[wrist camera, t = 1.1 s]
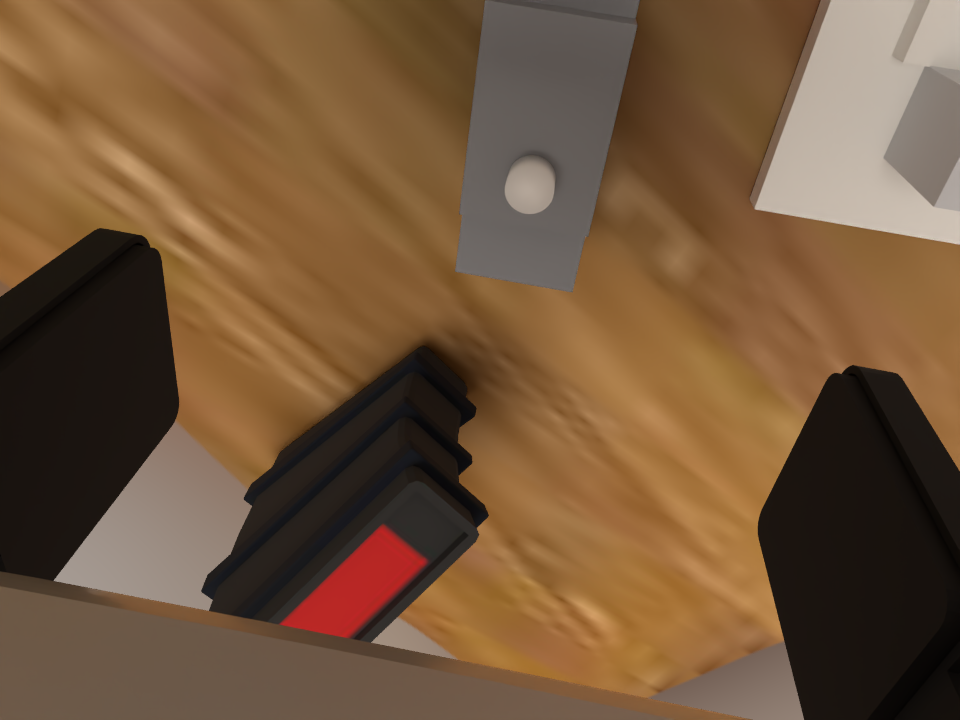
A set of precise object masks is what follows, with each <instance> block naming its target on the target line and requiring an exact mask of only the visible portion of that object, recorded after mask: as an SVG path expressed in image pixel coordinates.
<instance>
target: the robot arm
mask: <svg viewBox="0 0 960 720" xmlns="http://www.w3.org/2000/svg"><path fill="white" fill-rule="evenodd" d="M178 409H179V396H178V388H177V380H176V372H175V364H174V356H173V348H172V340H171V332H170V324H169V316H168V308H167V300H166V292H165V284H164V276H163V268H162V260H161V256H160V254H159V252H158V250H156V249H155V248H150V244H149V243H148V241H147V239H146V238H145V237H143V236H142V235H136V234H131V233H125V232H120V231H114V230H109V229H102V228H99V229H97V230H94V231H93V232H92V233H90V234H89V235H87V236H86V237H84V238H83V239H82V240H80V241H79V242H77V243H76V244H75V245H73V246H72V247H70V248H69V249H67V250H66V251H65V252H63V253H62V254H60V255H59V256H58V257H56V258H55V259H53V260H52V261H51V262H49V263H48V264H46V265H45V266H43V267H42V268H41V269H39V270H38V271H36V272H35V273H34V274H32V275H31V276H29V277H28V278H26V279H25V280H24V281H22V282H21V283H19V284H18V285H17V286H15V287H14V288H12V289H11V290H10V291H8V292H7V293H5V294H4V295H3V296H1V297H0V720H751V719H746V718H741V717H736V716H731V715H726V714H721V713H716V712H712V711H707V710H702V709H697V708H692V707H687V706H682V705H677V704H672V703H668V702H662V701H658V700H653V699H648V698H643V697H638V696H633V695H628V694H624V693H619V692H614V691H609V690H604V689H599V688H594V687H589V686H584V685H579V684H575V683H570V682H565V681H560V680H555V679H550V678H545V677H540V676H535V675H530V674H525V673H520V672H515V671H510V670H505V669H500V668H495V667H490V666H485V665H480V664H475V663H470V662H465V661H460V660H455V659H450V658H445V657H440V656H435V655H430V654H425V653H419V652H415V651H409V650H405V649H400V648H394V647H390V646H385V645H380V644H374V643H369V642H364V641H359V640H354V639H349V638H344V637H339V636H334V635H329V634H324V633H319V632H314V631H309V630H304V629H299V628H294V627H288V626H283V625H278V624H273V623H268V622H263V621H258V620H253V619H248V618H242V617H237V616H232V615H227V614H222V613H217V612H211V611H206V610H201V609H195V608H191V607H185V606H180V605H175V604H170V603H165V602H159V601H154V600H149V599H143V598H139V597H134V596H128V595H123V594H118V593H113V592H107V591H102V590H97V589H92V588H87V587H81V586H76V585H71V584H66V583H61V582H55V581H53V580H54V579H55V578H56V576H57V575H58V574H59V573H60V571H61V570H62V569H63V567H64V566H65V565H66V564H67V562H68V561H69V560H70V558H71V557H72V556H73V554H74V553H75V552H76V550H77V549H78V548H79V547H80V545H81V544H82V543H83V541H84V540H85V539H86V537H87V536H88V535H89V534H90V532H91V531H92V530H93V528H94V527H95V526H96V524H97V523H98V522H99V521H100V519H101V518H102V516H103V515H104V514H105V513H106V511H107V510H108V509H109V507H110V506H111V505H112V504H113V502H114V501H115V500H116V498H117V497H118V496H119V494H120V493H121V492H122V491H123V489H124V488H125V487H126V485H127V484H128V483H129V481H130V480H131V479H132V478H133V476H134V475H135V473H136V472H137V471H138V470H139V468H140V467H141V466H142V464H143V463H144V462H145V461H146V459H147V458H148V457H149V455H150V454H151V453H152V451H153V450H154V449H155V447H156V446H157V445H158V444H159V442H160V441H161V440H162V438H163V437H164V436H165V434H166V433H167V432H168V431H169V429H170V428H171V427H172V425H173V423H174V422H175V419H176V417H177V413H178ZM758 537H759V542H760V546H761V550H762V554H763V558H764V562H765V565H766V569H767V573H768V577H769V581H770V585H771V589H772V593H773V597H774V601H775V605H776V609H777V613H778V617H779V621H780V625H781V629H782V633H783V637H784V641H785V645H786V649H787V653H788V657H789V661H790V665H791V668H792V672H793V676H794V681H795V685H796V688H797V692H798V696H799V700H800V704H801V708H802V712H803V716H804V720H960V471H959V470H958V468H957V466H956V465H955V463H954V462H953V460H952V458H951V457H950V455H949V453H948V452H947V450H946V449H945V447H944V445H943V444H942V442H941V441H940V439H939V437H938V436H937V434H936V432H935V431H934V429H933V428H932V426H931V424H930V423H929V421H928V420H927V418H926V416H925V415H924V413H923V411H922V410H921V408H920V407H919V405H918V403H917V402H916V400H915V399H914V397H913V395H912V394H911V392H910V390H909V389H908V387H907V386H906V384H905V382H904V381H903V379H902V378H901V377H900V376H899V375H898V374H896V373H893V372H887V371H882V370H876V369H871V368H865V367H860V366H854V365H852V366H850V367H848V368H847V369H845V370H844V371H843V373H842V374H839V373H834V374H832V375H831V376H830V377H829V378H828V379H827V381H826V383H825V384H824V386H823V388H822V390H821V392H820V394H819V396H818V398H817V400H816V402H815V404H814V406H813V408H812V410H811V412H810V414H809V416H808V418H807V420H806V422H805V424H804V426H803V428H802V430H801V432H800V434H799V436H798V438H797V440H796V442H795V444H794V446H793V448H792V450H791V452H790V454H789V456H788V458H787V460H786V462H785V464H784V466H783V468H782V470H781V472H780V474H779V476H778V478H777V480H776V482H775V484H774V486H773V488H772V490H771V492H770V494H769V496H768V498H767V500H766V502H765V504H764V506H763V508H762V511H761V513H760V517H759V521H758Z"/></svg>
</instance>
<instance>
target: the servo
mask: <svg viewBox="0 0 960 720" xmlns="http://www.w3.org/2000/svg"><path fill="white" fill-rule="evenodd" d="M639 2H640V0H485V5H484V14H483V22H482V30H481V38H480V46H479V55H478V63H477V71H476V79H475V88H474V96H473V104H472V112H471V121H470V129H469V137H468V145H467V154H466V162H465V170H464V178H463V186H462V195H461V203H460V211H459V214H461V215H462V221H461V229H460V237H459V245H458V253H457V261H456V270H455V272H460V273H466V274H471V275H477V276H483V277H488V278H494V279H500V280H505V281H511V282H517V283H522V284H528V285H534V286H539V287H545V288H550V289H556V290H562V291H567V292H573V287H574V283H575V279H576V274H577V270H578V266H579V261H580V257H581V253H582V248H583V244H584V240H585V236H586V237H588V235H589V231H590V226H591V222H592V218H593V213H594V209H595V205H596V201H597V196H598V192H599V188H600V184H601V179H602V175H603V171H604V166H605V162H606V158H607V154H608V149H609V145H610V141H611V136H612V132H613V128H614V124H615V119H616V115H617V111H618V106H619V102H620V98H621V94H622V89H623V85H624V81H625V76H626V72H627V68H628V64H629V59H630V55H631V51H632V46H633V42H634V38H635V34H636V29H637V22H636V15H637V10H638V6H639Z"/></svg>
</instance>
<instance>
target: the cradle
mask: <svg viewBox="0 0 960 720" xmlns="http://www.w3.org/2000/svg"><path fill="white" fill-rule="evenodd" d="M750 201H751V203H752V205H753V207H754V209H756V210H762V211H768V212H774V213H780V214H785V215H791V216H797V217H803V218H809V219H814V220H820V221H826V222H832V223H838V224H843V225H849V226H855V227H861V228H867V229H873V230H878V231H884V232H890V233H896V234H902V235H907V236H913V237H919V238H925V239H931V240H936V241H942V242H948V243H954V244H960V0H821V1H820V4H819V7H818V9H817V12H816V15H815V18H814V21H813V23H812V26H811V29H810V32H809V34H808V37H807V40H806V43H805V46H804V48H803V51H802V54H801V57H800V60H799V62H798V65H797V68H796V71H795V73H794V76H793V79H792V82H791V85H790V87H789V90H788V93H787V96H786V99H785V101H784V104H783V107H782V110H781V112H780V115H779V118H778V121H777V124H776V126H775V129H774V132H773V135H772V137H771V140H770V143H769V146H768V149H767V151H766V154H765V157H764V160H763V163H762V165H761V168H760V171H759V174H758V176H757V179H756V182H755V185H754V188H753V190H752V193H751V196H750Z"/></svg>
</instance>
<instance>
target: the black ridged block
mask: <svg viewBox="0 0 960 720" xmlns="http://www.w3.org/2000/svg"><path fill="white" fill-rule="evenodd" d="M466 394H467V387H466V385H465V383H464V382H463V381H462V380H461V379H460V378H459V377H458V376H457V375H456V374H454V373H453V372H452V371H451V370H450V369H449V368H448V367H447V366H446V365H445V364H444V363H443V362H442V361H441V360H440V359H439V358H438V357H437V356H436V355H435V354H434V353H433V352H431V351H430V350H429V349H428V348H427V347H425V346H423V347H420V348H418V349H417V350H415V351H414V352H413V353H411V354H410V355H409V356H407V357H406V358H405V359H403V360H402V361H401V362H399V363H398V364H397V365H395V366H394V367H393V368H391V369H390V370H389V371H387V372H386V373H385V374H383V375H382V376H381V377H379V378H378V379H377V380H375V381H374V382H373V383H371V384H370V385H369V386H367V387H366V388H365V389H363V390H362V391H361V392H359V393H358V394H357V395H355V396H354V397H353V398H351V399H350V400H349V401H347V402H346V403H345V404H343V405H342V406H341V407H339V408H338V409H337V410H335V411H334V412H333V413H331V414H330V415H329V416H327V417H326V418H325V419H323V420H322V421H321V422H319V423H318V424H317V425H315V426H314V427H313V428H311V429H310V430H309V431H307V432H306V433H305V434H303V435H302V436H301V437H299V438H298V439H297V440H295V441H294V442H293V443H291V444H290V445H289V446H287V447H286V448H285V449H283V450H282V451H281V452H280V453H279V455H278V457H277V459H276V461H275V463H274V465H273V467H272V468H271V469H269V470H268V471H267V472H266V473H264V474H263V475H262V476H261V477H259V478H258V479H257V480H256V481H254V482H253V483H252V484H251V485H250V487H249V489H248V491H247V493H246V495H245V497H244V500H245V501H246V502H248V503H249V504H250V505H252V508H251V510H250V512H249V514H248V516H247V518H246V520H245V523H244V525H243V527H242V529H241V531H240V533H239V535H238V537H237V540H236V542H235V545H234V547H233V550H232V552H231V555H229V556H228V557H227V558H226V559H225V560H224V561H222V562H221V563H220V564H219V565H218V566H217V567H216V568H215V569H214V570H213V571H211V572H210V573H209V574H208V575H207V578H206V580H205V583H204V585H203V588H202V590H201V591H202V593H204V594H205V595H207V596H208V597H209V598H211V599H212V600H213V601H212V604H211V607H210V609H209V611H211V612H217V613H222V614H227V615H232V616H237V617H242V618H248V619H253V620H258V621H263V622H268V623H273V624H278V625H283V626H288V627H294V628H299V629H304V630H309V631H314V632H319V633H324V634H329V635H334V636H339V637H344V638H349V639H354V640H359V641H364V642H369V643H371V642H372V641H373V640H374V639H375V638H376V637H377V636H378V635H379V634H380V633H381V632H382V631H383V630H384V629H385V628H386V627H387V626H388V625H389V624H390V623H392V622H393V621H394V620H395V619H396V618H397V617H398V616H399V615H400V614H401V613H402V612H403V611H404V610H405V609H406V608H407V607H408V606H409V605H410V604H411V603H412V602H413V601H415V600H416V599H417V598H418V597H419V596H420V595H421V594H422V593H423V592H424V591H425V590H426V589H427V588H428V587H429V586H430V585H431V584H432V583H433V582H434V581H435V580H436V579H437V578H438V577H439V576H441V575H442V574H443V573H444V572H445V571H446V570H447V569H448V568H449V567H450V566H451V565H452V564H453V563H454V562H455V561H456V560H457V559H458V558H459V557H460V556H461V555H462V554H463V553H464V552H465V551H467V550H468V549H469V548H470V547H471V546H472V545H473V544H474V543H475V542H476V540H477V538H478V536H479V533H478V531H477V527H478V526H479V525H480V524H481V523H482V522H483V521H484V520H485V519H487V518H488V516H489V515H488V512H487V510H486V508H485V506H484V504H483V503H481V502H480V501H479V500H478V499H477V498H476V497H475V496H474V495H472V494H471V493H470V492H469V491H468V490H467V489H466V488H465V487H463V486H462V485H461V484H460V483H459V475H460V474H461V473H462V472H463V471H464V470H465V469H466V468H467V467H469V466H470V465H471V464H472V456H471V454H469V453H468V452H467V451H466V450H465V449H464V448H463V447H462V446H461V445H460V444H458V433H459V428H460V427H461V426H462V425H464V424H465V423H466V422H468V421H469V420H470V419H472V418H473V417H474V416H475V413H476V406H474V405H473V404H472V403H471V402H470V401H469V400H468V399H467V398H466Z"/></svg>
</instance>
